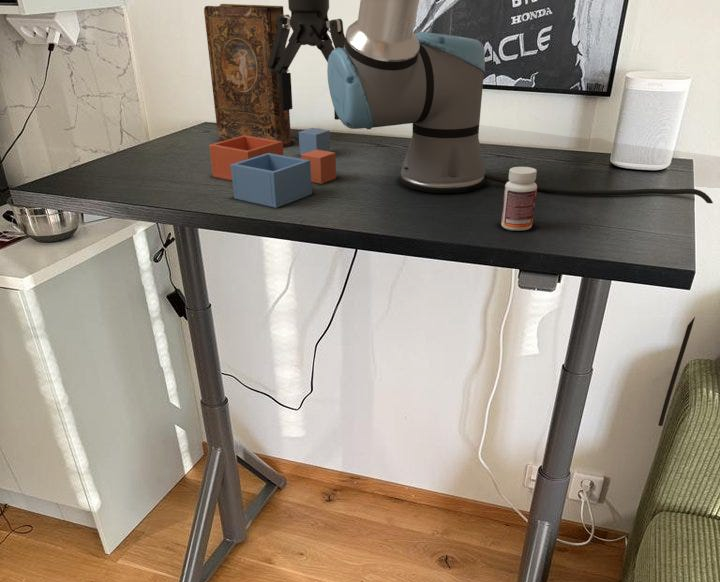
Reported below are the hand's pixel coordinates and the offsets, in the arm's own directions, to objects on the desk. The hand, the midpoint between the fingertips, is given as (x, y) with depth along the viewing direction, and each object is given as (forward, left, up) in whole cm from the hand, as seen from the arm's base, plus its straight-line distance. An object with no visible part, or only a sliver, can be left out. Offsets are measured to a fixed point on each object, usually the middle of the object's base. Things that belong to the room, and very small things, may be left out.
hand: (313, 114), depth 145 cm
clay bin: (+1, +19, -8) cm, 21 cm away
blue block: (0, 0, -8) cm, 8 cm away
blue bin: (-12, +27, -8) cm, 31 cm away
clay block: (-12, +14, -8) cm, 20 cm away
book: (+18, -2, -8) cm, 19 cm away
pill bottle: (-54, +18, -8) cm, 58 cm away
